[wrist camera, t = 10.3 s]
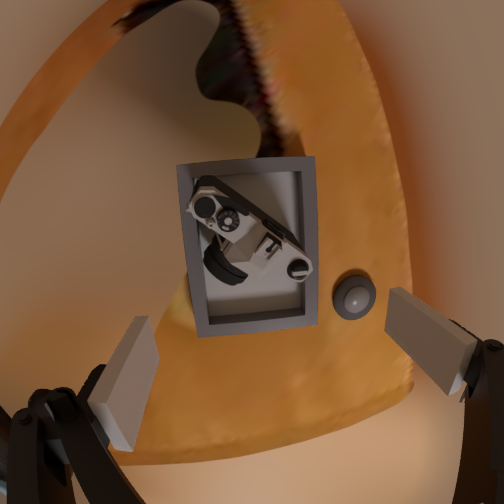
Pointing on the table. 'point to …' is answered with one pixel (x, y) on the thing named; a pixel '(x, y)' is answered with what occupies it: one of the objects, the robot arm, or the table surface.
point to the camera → (244, 236)
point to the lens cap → (354, 297)
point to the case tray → (272, 284)
